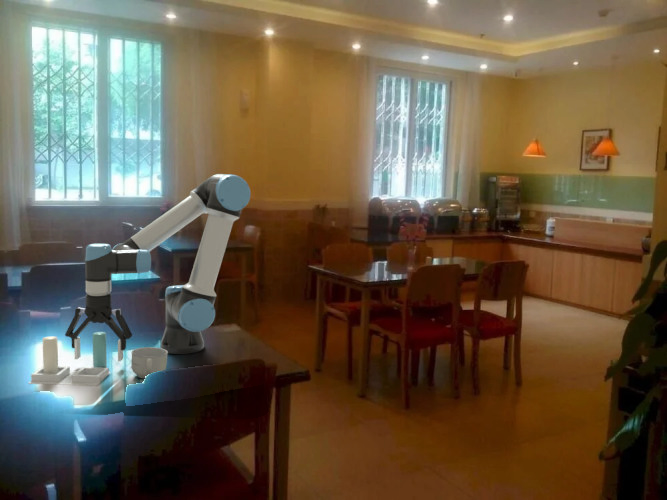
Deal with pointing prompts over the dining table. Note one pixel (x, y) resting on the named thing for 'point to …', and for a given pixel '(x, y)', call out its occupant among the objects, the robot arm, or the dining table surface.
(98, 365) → the teal peg
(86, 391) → the dining table surface
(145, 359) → the teacup
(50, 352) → the peg seated
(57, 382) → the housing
